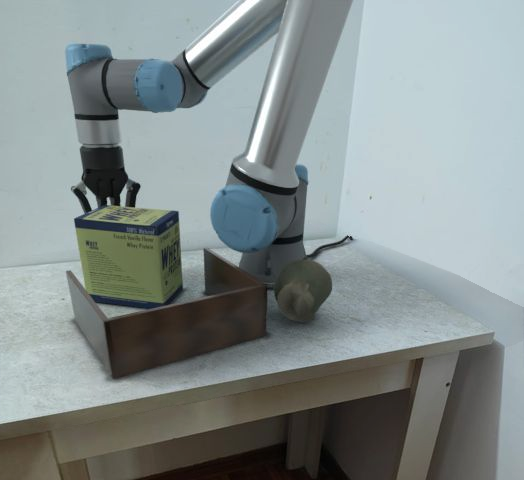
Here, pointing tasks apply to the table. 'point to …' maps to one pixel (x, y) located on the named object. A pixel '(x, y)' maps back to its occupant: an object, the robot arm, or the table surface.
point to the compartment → (176, 321)
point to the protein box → (130, 255)
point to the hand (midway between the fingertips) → (117, 267)
